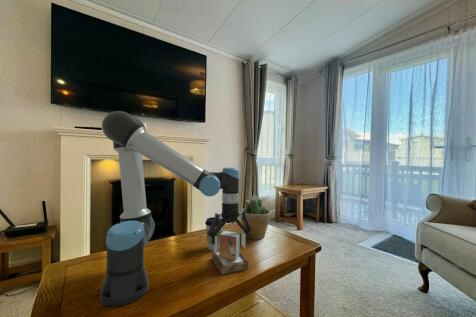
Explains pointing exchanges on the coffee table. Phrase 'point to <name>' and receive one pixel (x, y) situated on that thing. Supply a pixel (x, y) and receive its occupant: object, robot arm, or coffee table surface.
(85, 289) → the coffee table surface
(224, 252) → the small box
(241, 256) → the tray
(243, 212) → the robot arm
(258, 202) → the potted plant
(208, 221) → the coffee cup
